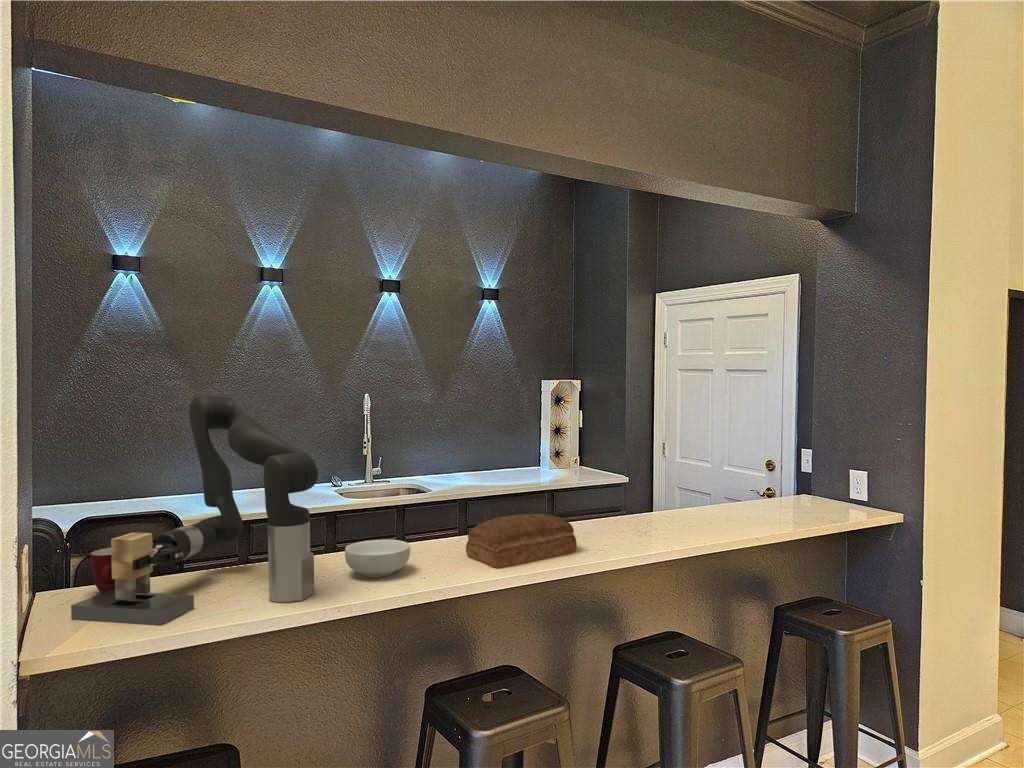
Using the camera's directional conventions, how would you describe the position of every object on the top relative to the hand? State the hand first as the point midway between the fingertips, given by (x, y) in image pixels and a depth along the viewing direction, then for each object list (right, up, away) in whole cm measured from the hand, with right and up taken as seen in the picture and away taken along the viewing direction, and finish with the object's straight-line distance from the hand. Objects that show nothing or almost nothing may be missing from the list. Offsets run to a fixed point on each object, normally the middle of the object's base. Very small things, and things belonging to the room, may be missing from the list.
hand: (123, 564), depth 141 cm
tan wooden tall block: (+1, -7, +3) cm, 8 cm away
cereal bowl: (+48, -11, +31) cm, 58 cm away
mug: (-13, -12, +16) cm, 24 cm away
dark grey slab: (+1, -11, +2) cm, 12 cm away
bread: (+86, -10, +47) cm, 99 cm away
